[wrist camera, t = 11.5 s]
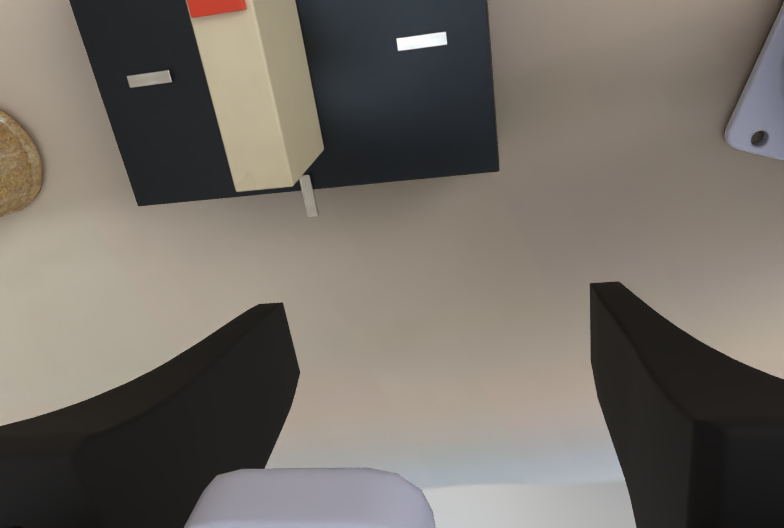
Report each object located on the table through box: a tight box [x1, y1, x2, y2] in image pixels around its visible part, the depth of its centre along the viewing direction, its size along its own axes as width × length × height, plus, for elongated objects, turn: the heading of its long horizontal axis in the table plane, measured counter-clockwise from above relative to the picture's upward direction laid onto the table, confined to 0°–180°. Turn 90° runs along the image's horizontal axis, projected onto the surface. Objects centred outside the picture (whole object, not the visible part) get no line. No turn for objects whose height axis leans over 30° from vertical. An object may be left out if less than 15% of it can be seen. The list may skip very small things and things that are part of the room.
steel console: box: [69, 0, 499, 217], centre depth 20 cm, size 12×10×4 cm
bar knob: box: [186, 0, 324, 192], centre depth 16 cm, size 6×2×4 cm, turn 9°
